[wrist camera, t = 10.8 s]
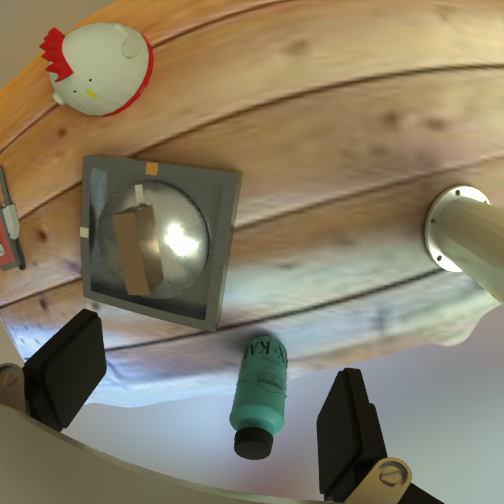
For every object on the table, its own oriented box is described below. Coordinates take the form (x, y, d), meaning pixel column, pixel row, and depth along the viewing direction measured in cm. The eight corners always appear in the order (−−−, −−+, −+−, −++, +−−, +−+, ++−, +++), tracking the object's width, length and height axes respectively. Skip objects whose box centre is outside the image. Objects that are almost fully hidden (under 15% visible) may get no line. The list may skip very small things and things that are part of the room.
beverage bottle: (283, 365, 47) (278, 470, 28) (242, 359, 47) (219, 462, 28) (291, 332, 44) (291, 440, 26) (246, 325, 45) (223, 430, 26)
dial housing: (243, 172, 38) (238, 174, 34) (220, 317, 45) (214, 333, 41) (99, 154, 39) (83, 155, 35) (96, 286, 46) (83, 297, 42)
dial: (215, 295, 41) (204, 318, 36) (113, 294, 43) (93, 313, 37) (201, 174, 36) (186, 179, 31) (93, 188, 38) (67, 195, 32)
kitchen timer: (87, 133, 38) (14, 134, 24) (66, 61, 34) (-1, 45, 20) (166, 86, 35) (108, 59, 21) (138, 13, 32) (83, -28, 17)
